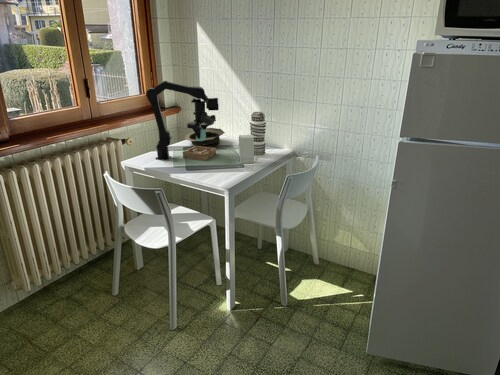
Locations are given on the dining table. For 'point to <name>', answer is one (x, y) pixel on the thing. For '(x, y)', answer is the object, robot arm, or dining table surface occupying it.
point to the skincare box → (246, 148)
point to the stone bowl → (211, 137)
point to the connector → (202, 135)
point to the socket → (197, 151)
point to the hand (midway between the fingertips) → (200, 137)
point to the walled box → (199, 153)
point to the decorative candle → (258, 133)
